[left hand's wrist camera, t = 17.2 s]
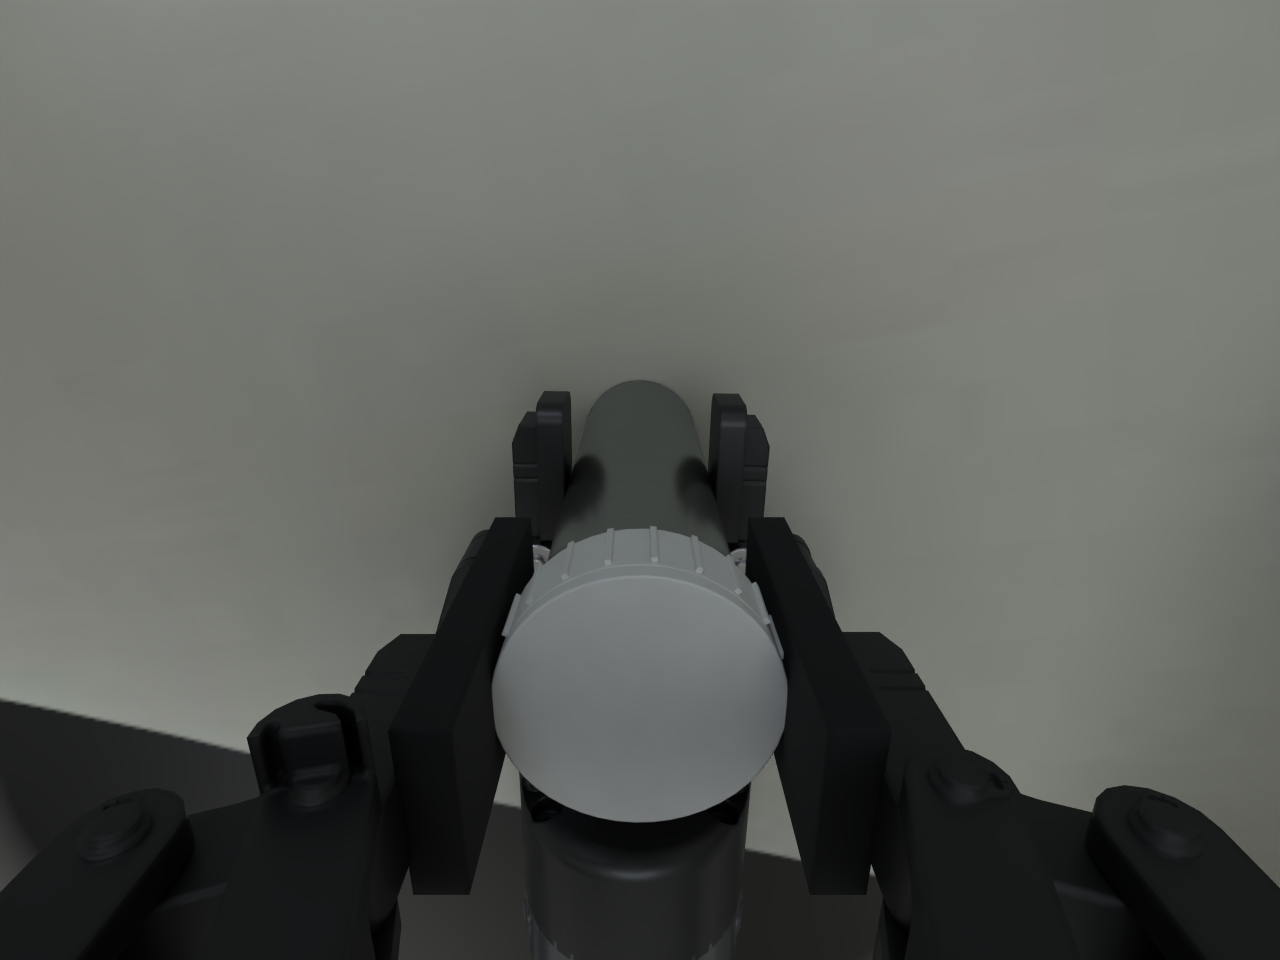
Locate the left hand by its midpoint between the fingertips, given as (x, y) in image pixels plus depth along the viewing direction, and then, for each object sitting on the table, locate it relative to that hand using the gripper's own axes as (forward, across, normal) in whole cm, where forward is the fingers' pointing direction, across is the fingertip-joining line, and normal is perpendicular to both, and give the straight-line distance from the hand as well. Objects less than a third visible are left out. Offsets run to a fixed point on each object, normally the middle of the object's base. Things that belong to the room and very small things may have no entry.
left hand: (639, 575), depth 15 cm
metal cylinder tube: (+11, 0, 0) cm, 11 cm away
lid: (-4, 0, 0) cm, 4 cm away
